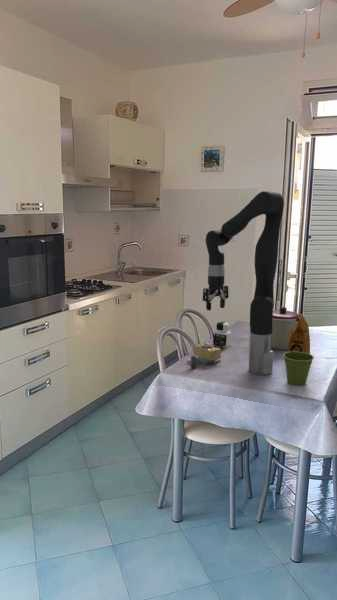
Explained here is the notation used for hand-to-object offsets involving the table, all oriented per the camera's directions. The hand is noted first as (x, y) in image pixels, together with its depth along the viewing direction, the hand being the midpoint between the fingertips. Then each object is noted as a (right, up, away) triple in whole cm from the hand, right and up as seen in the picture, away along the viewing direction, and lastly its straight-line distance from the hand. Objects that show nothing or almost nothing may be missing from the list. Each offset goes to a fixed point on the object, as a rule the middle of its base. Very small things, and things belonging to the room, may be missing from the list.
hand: (215, 309), depth 214 cm
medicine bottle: (+6, -19, +22) cm, 30 cm away
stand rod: (-11, -26, -12) cm, 30 cm away
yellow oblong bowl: (-4, -22, -3) cm, 22 cm away
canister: (+35, -20, +19) cm, 45 cm away
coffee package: (+37, -25, -5) cm, 45 cm away
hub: (-4, -24, -3) cm, 24 cm away
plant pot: (+30, -29, -29) cm, 51 cm away
